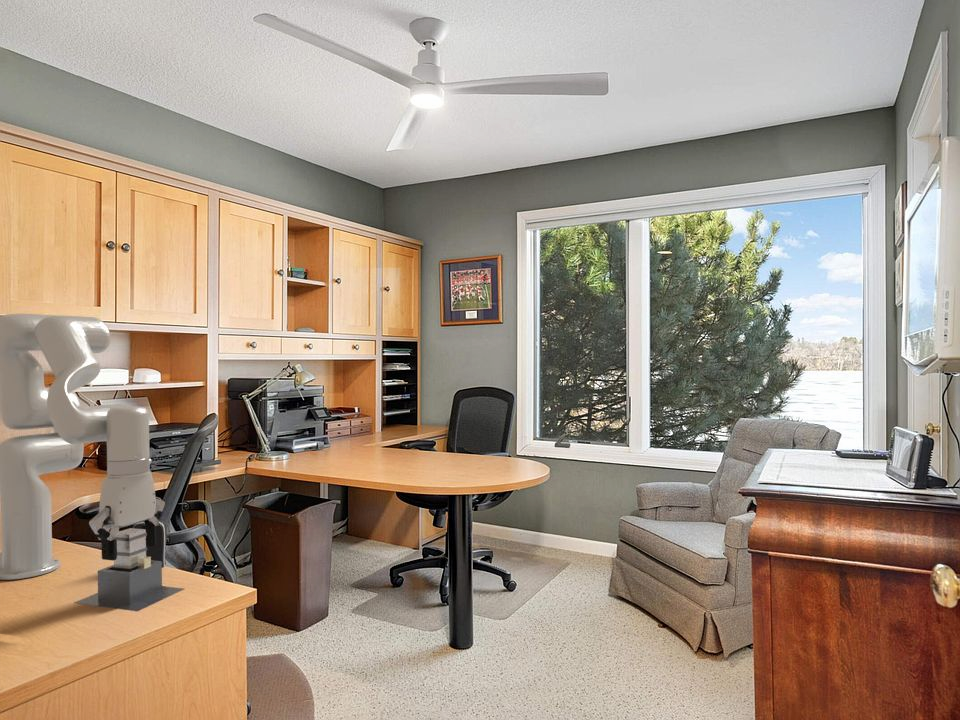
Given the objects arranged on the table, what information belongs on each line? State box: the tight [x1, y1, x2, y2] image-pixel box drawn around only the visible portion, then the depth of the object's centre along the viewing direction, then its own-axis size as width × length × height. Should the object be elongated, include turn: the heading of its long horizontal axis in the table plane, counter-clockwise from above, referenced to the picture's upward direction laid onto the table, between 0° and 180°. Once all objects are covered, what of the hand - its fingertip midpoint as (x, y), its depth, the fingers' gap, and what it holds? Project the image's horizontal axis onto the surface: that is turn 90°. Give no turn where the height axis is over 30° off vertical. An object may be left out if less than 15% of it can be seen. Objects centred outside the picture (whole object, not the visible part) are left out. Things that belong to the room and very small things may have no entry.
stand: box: [73, 556, 185, 612], centre depth 126 cm, size 16×12×9 cm
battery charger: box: [132, 519, 168, 569], centre depth 145 cm, size 7×4×11 cm, turn 99°
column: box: [113, 527, 147, 572], centre depth 126 cm, size 4×4×13 cm
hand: (130, 552), depth 126 cm, fingers open, 9 cm apart
